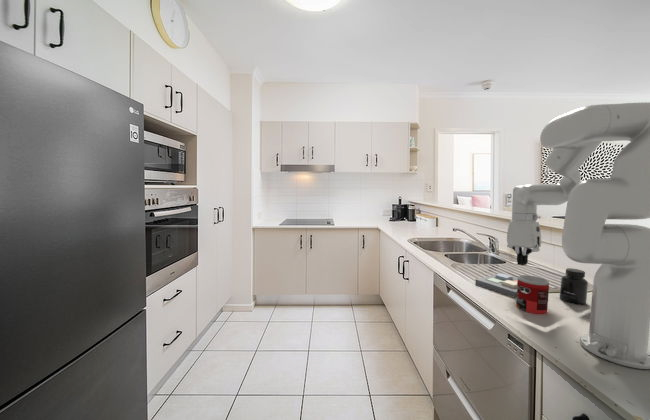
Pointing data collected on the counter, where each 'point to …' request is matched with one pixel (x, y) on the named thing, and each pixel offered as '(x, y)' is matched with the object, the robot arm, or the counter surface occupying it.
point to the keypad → (497, 286)
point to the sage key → (494, 280)
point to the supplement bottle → (574, 287)
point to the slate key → (504, 277)
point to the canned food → (532, 294)
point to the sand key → (510, 284)
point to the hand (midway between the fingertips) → (522, 264)
